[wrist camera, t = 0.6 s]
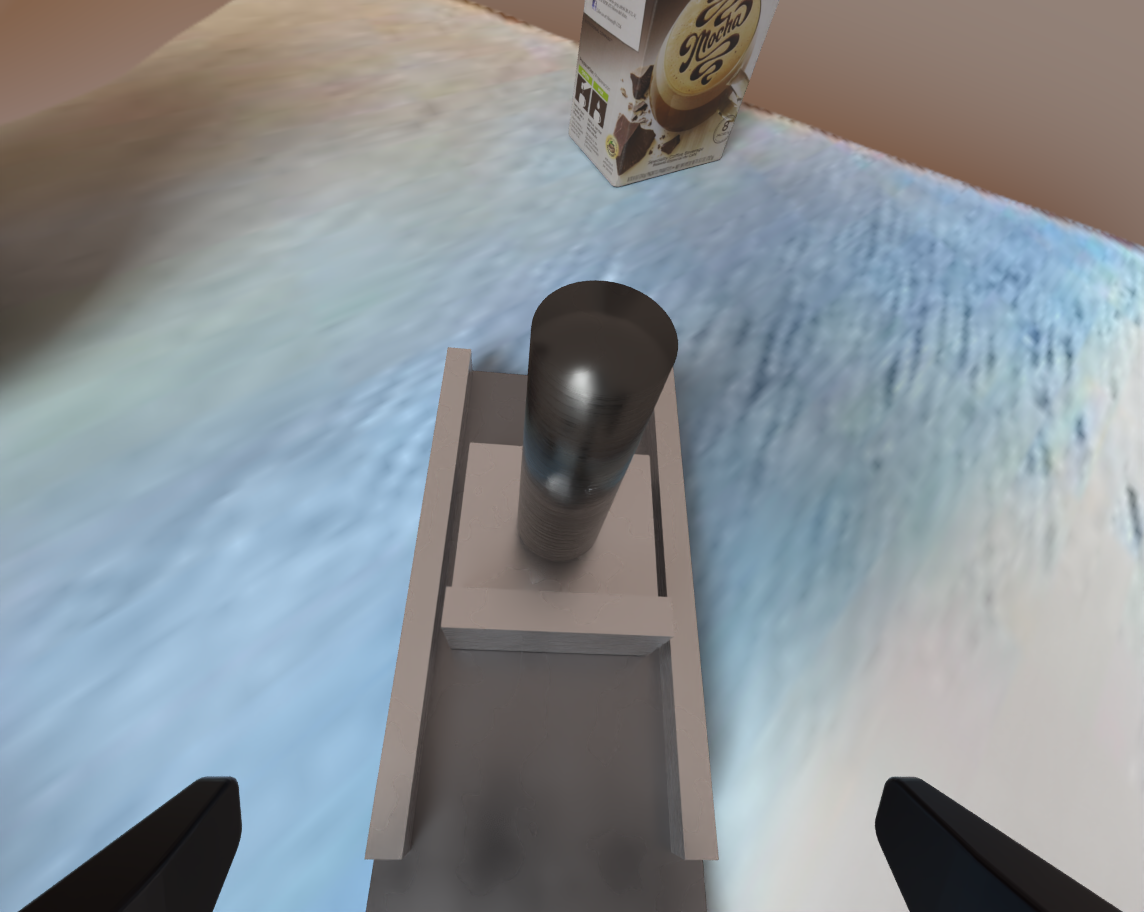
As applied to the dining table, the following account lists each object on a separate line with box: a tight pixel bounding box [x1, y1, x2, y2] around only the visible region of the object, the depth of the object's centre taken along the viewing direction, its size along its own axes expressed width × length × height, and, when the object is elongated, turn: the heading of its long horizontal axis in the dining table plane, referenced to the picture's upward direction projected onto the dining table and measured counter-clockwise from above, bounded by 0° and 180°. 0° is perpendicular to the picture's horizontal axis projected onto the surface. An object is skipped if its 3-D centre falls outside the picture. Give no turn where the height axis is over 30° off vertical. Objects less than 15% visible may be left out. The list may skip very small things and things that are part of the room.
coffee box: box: [569, 0, 779, 187], centre depth 31 cm, size 9×6×16 cm
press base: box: [365, 347, 719, 912], centre depth 17 cm, size 30×10×5 cm, turn 179°
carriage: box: [441, 280, 678, 656], centre depth 16 cm, size 7×7×12 cm
